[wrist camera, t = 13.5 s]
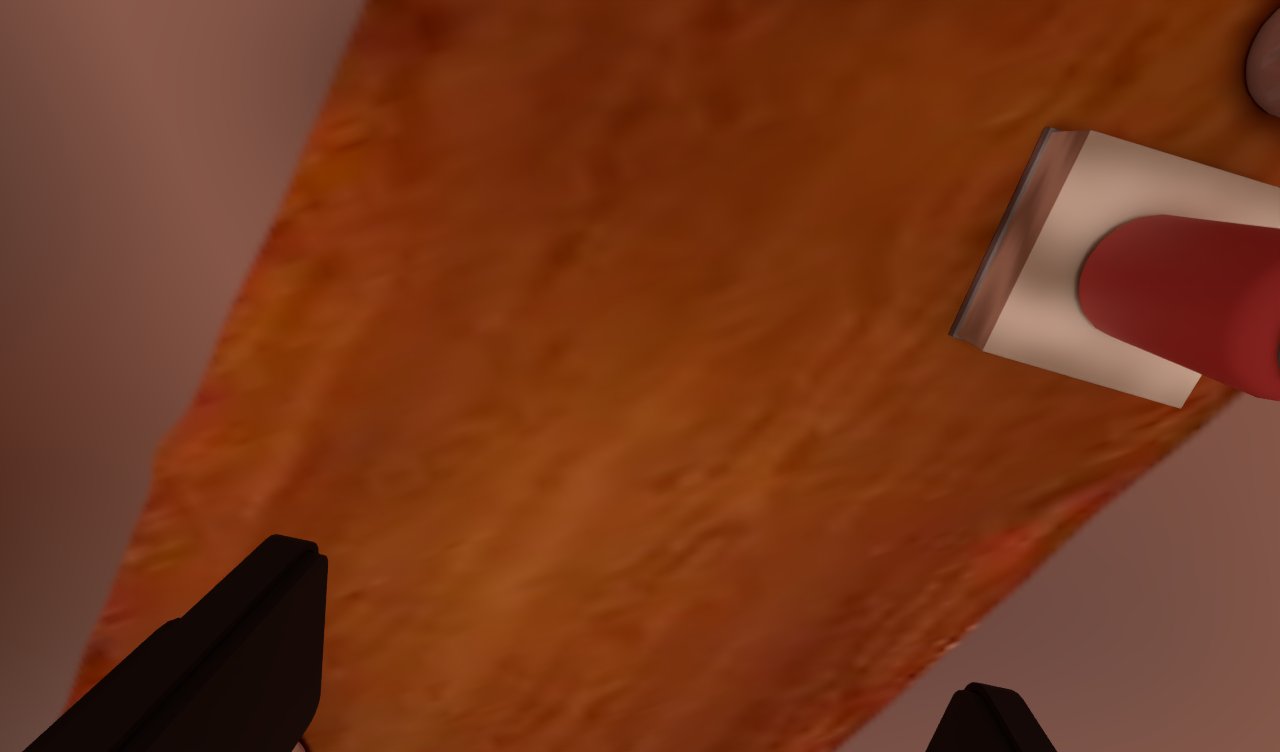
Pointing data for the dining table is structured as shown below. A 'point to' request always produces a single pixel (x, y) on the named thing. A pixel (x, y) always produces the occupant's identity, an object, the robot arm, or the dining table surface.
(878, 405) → the dining table surface
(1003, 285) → the stand
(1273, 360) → the beer can
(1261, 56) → the cupcake
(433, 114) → the dining table surface
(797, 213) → the dining table surface
